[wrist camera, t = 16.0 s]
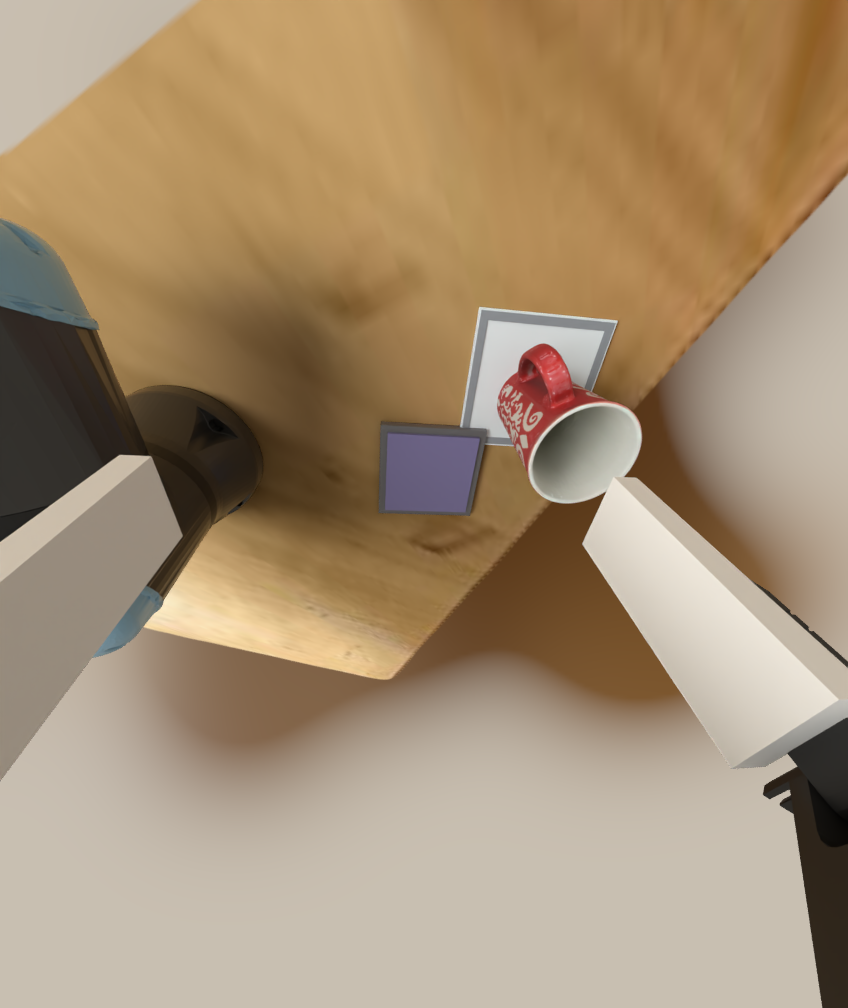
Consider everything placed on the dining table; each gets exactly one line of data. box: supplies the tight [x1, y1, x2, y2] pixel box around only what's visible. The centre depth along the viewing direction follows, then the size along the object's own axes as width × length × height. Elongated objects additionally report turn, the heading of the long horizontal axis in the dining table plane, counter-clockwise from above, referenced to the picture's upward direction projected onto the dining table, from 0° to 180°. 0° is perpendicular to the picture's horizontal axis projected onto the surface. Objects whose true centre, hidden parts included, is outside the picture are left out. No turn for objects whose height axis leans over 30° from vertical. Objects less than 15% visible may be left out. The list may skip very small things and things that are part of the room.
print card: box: [460, 307, 618, 446], centre depth 38 cm, size 14×14×1 cm
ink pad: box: [379, 421, 487, 516], centre depth 42 cm, size 12×12×1 cm
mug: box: [497, 343, 642, 503], centre depth 32 cm, size 13×9×14 cm
